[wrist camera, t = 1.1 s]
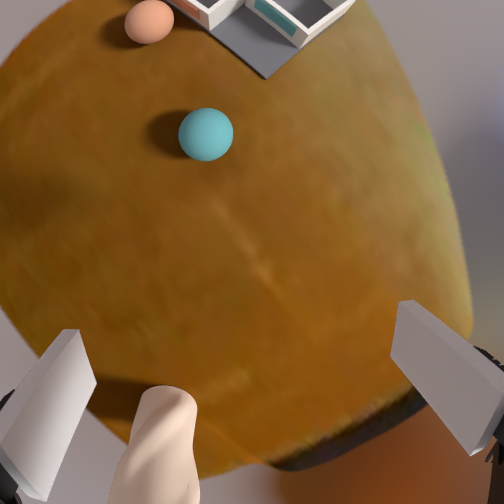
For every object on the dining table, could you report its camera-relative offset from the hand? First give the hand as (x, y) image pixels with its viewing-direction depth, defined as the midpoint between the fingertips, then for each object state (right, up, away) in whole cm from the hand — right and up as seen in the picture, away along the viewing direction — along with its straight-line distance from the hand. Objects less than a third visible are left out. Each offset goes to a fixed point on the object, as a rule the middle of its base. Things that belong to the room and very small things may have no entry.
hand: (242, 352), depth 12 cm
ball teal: (-4, +15, +16) cm, 22 cm away
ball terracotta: (-10, +27, +12) cm, 31 cm away
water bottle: (-11, -17, +26) cm, 33 cm away
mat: (+1, +31, +14) cm, 34 cm away
